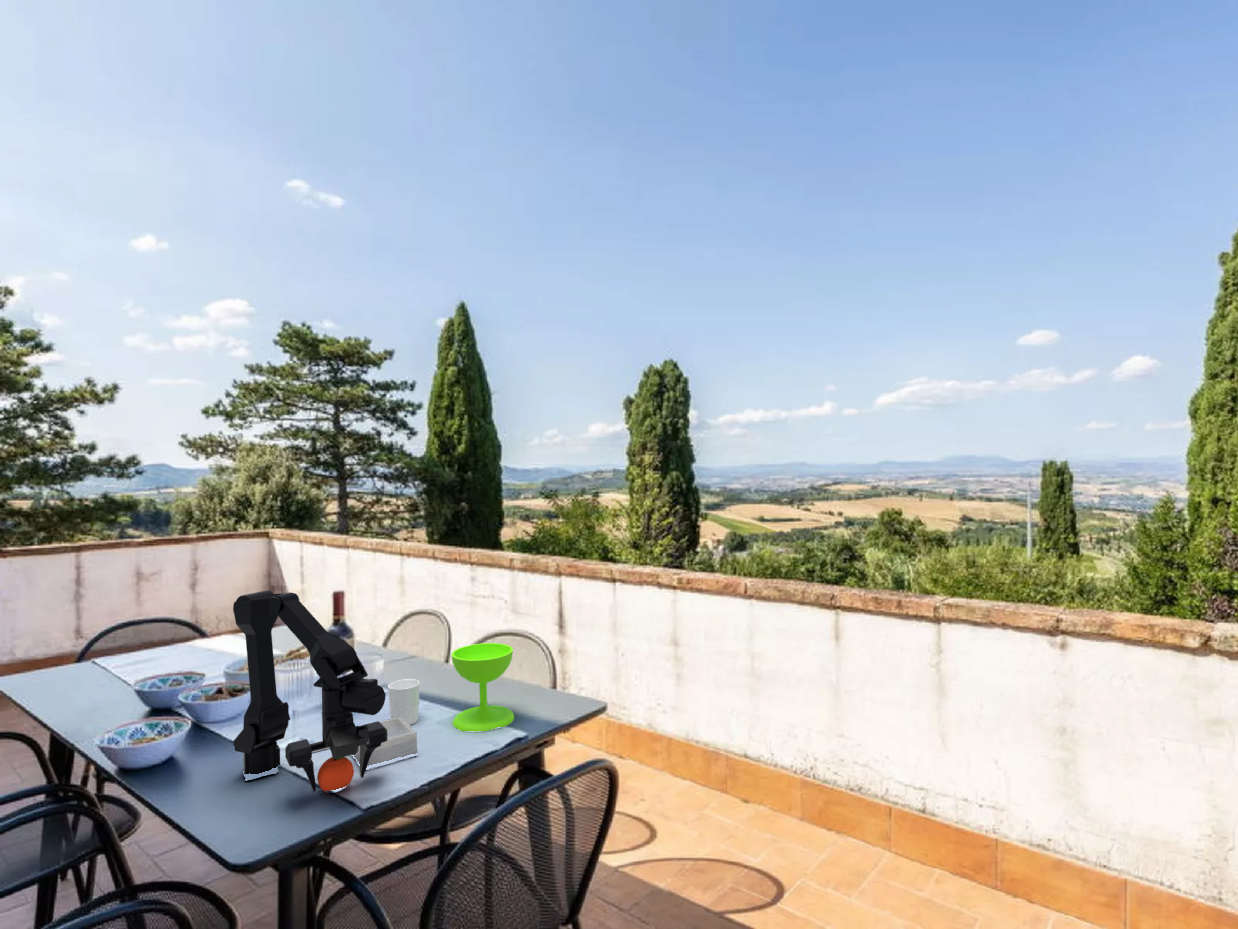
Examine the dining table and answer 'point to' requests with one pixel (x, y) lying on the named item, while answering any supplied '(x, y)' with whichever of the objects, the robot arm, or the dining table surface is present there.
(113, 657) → the dining table surface
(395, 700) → the white cup
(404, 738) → the tray
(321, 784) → the clementine
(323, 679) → the robot arm
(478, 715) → the wineglass
